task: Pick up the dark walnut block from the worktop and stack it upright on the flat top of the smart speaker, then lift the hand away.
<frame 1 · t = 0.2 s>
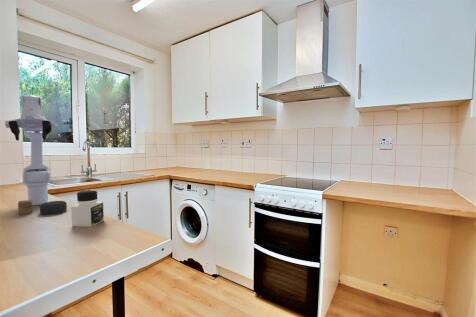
hand: (30, 138, 88), 31 cm above the counter, tool tilted 45°, fingers open, 7 cm apart
medicine bottle: (88, 223, 84), on the counter
smart speaker: (53, 212, 98), on the counter
walnut block: (25, 213, 96), on the counter
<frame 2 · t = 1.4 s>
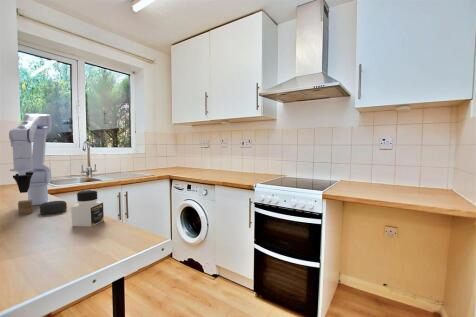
hand: (24, 191, 95), 9 cm above the counter, tool pointing down, fingers open, 7 cm apart
nothing on the counter moved.
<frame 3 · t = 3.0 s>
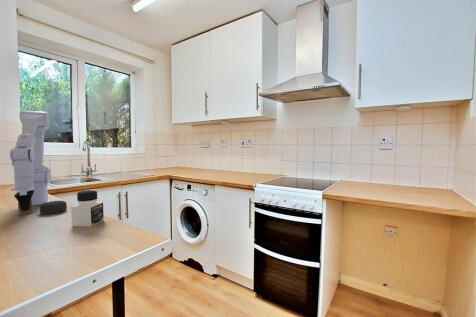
hand: (25, 209, 96), 1 cm above the counter, tool pointing down, fingers closed on walnut block, 4 cm apart
walnut block: (25, 212, 96), on the counter, touching gripper
everything else where it was.
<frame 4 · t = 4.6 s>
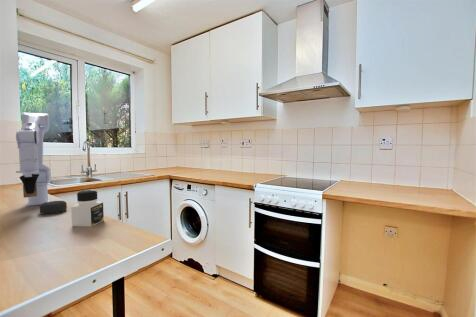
hand: (30, 192, 96), 8 cm above the counter, tool pointing down, fingers closed on walnut block, 4 cm apart
walnut block: (30, 196, 96), point 7 cm above the counter, touching gripper
everything else where it was.
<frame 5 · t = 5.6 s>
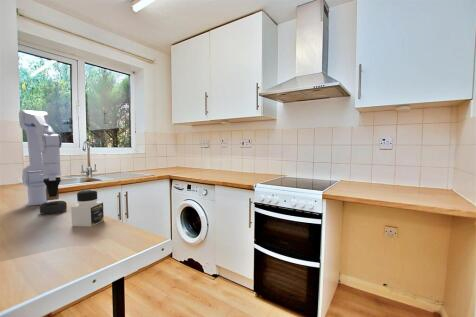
hand: (53, 195, 97), 7 cm above the counter, tool pointing down, fingers closed on walnut block, 4 cm apart
walnut block: (52, 199, 97), point 5 cm above the counter, touching gripper
everything else where it was.
when the fingers open (7 cm above the counter, at t = 6.2 s): walnut block drops 2 cm, resting on smart speaker.
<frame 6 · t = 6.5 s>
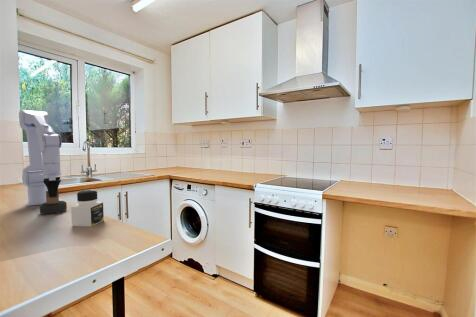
hand: (53, 195, 97), 7 cm above the counter, tool pointing down, fingers open, 6 cm apart
smart speaker: (53, 212, 98), on the counter, touching walnut block
walnut block: (52, 202, 97), point 4 cm above the counter, touching smart speaker
everything else where it was.
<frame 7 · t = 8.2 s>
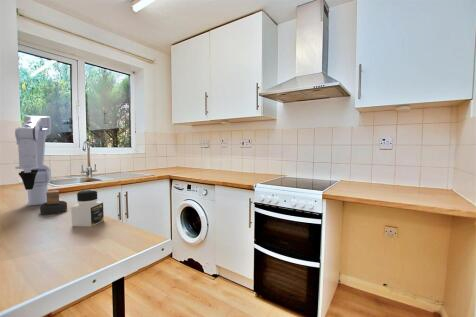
hand: (29, 188, 98), 10 cm above the counter, tool pointing down, fingers open, 7 cm apart
nothing on the counter moved.
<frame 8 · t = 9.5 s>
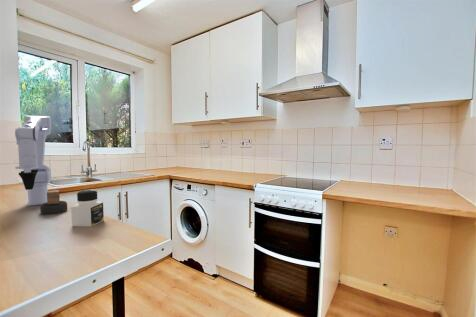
hand: (29, 188, 98), 10 cm above the counter, tool pointing down, fingers open, 7 cm apart
nothing on the counter moved.
at the end: walnut block 0.1 cm off-centre on the smart speaker, point 4.2 cm above the smart speaker's base; walnut block tilted 0°; the gripper is holding nothing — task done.
